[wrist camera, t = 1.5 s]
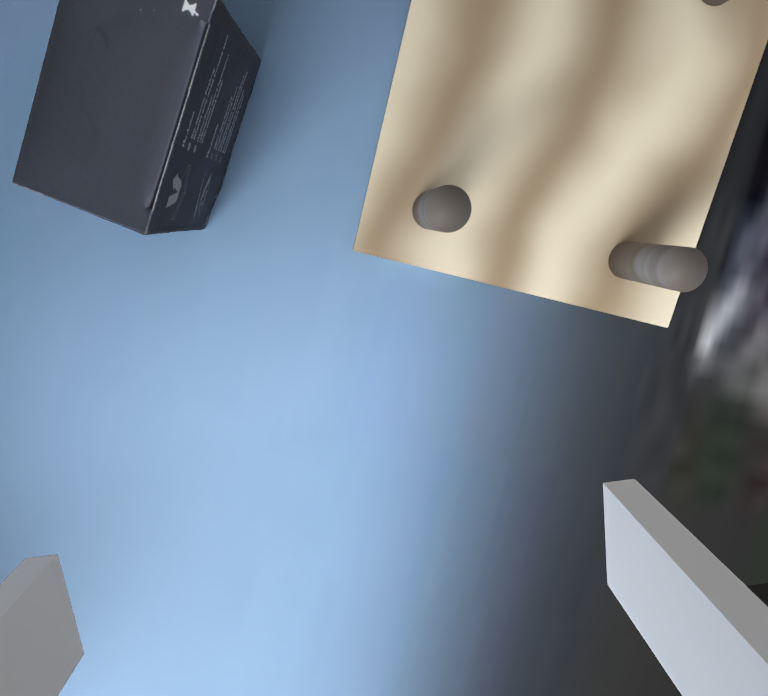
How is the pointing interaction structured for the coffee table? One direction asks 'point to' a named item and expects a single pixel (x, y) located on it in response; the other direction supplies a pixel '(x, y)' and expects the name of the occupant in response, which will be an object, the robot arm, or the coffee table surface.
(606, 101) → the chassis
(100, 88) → the box
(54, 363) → the coffee table surface
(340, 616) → the coffee table surface
